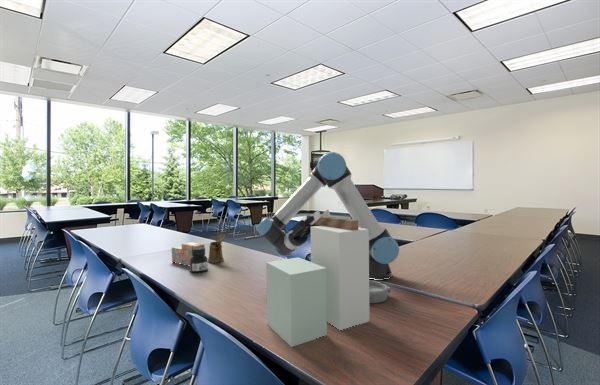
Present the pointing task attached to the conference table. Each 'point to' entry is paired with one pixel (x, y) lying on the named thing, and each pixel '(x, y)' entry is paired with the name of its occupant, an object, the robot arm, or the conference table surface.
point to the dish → (378, 292)
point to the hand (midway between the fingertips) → (323, 213)
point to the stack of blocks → (184, 252)
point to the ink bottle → (198, 260)
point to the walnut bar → (337, 222)
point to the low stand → (296, 300)
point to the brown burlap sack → (216, 249)
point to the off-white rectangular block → (343, 273)
